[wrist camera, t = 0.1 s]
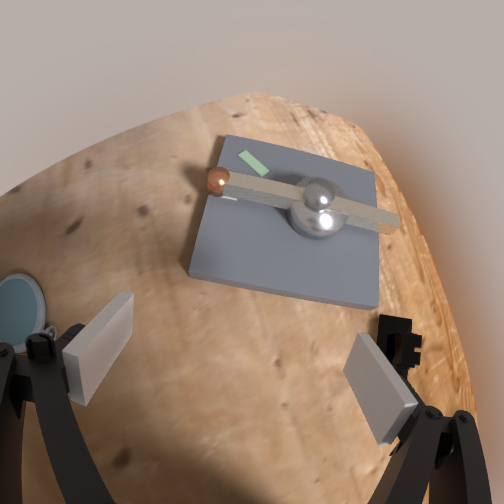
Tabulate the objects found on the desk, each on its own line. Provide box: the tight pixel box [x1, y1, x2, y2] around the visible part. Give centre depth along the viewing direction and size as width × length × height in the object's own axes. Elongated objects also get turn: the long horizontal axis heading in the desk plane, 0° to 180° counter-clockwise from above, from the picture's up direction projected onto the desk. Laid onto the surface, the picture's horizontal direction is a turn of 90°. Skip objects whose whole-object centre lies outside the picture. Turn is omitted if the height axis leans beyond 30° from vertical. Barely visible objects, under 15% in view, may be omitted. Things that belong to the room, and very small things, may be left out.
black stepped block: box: [377, 314, 422, 379], centre depth 31 cm, size 12×7×5 cm, turn 169°
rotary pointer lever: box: [207, 167, 400, 240], centre depth 33 cm, size 7×23×5 cm, turn 81°
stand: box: [188, 135, 379, 310], centre depth 36 cm, size 20×22×2 cm
